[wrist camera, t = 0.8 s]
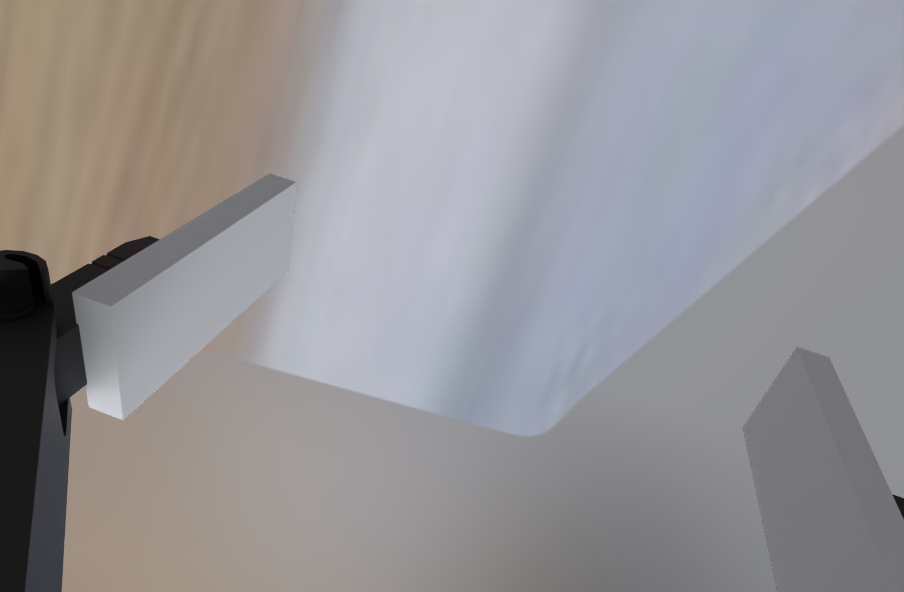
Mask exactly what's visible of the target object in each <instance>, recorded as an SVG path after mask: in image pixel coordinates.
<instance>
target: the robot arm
mask: <svg viewBox="0 0 904 592" xmlns="http://www.w3.org/2000/svg"><path fill="white" fill-rule="evenodd" d="M295 191H296V182H294V181H291V180H288V179H285V178H282V177H279V176H276V175H273V174H268V175H267V176H265V177H263V178H262V179H260V180H258V181H257V182H255V183H253V184H252V185H250V186H248V187H247V188H245V189H243V190H242V191H240V192H238V193H237V194H235V195H233V196H232V197H230V198H228V199H227V200H225V201H223V202H222V203H220V204H218V205H217V206H215V207H213V208H212V209H210V210H208V211H207V212H205V213H203V214H202V215H200V216H198V217H197V218H195V219H193V220H192V221H190V222H188V223H187V224H185V225H183V226H182V227H180V228H178V229H177V230H175V231H173V232H172V233H170V234H168V235H167V236H165V237H163V238H162V239H160V240H159V239H157V238H154V237H151V236H149V237H145V238H141V239H137V240H133V241H130V242H126V243H124V244H122V245H120V246H119V247H117V248H115V249H113V250H112V251H110V252H108V253H107V255H106V256H105V255H103V256H101V257H99V258H97V259H96V260H94V261H92V264H87V265H85V266H83V267H82V268H80V269H78V270H76V271H75V272H73V273H71V274H69V275H67V276H66V277H64V278H62V279H60V280H59V281H57V282H55V283H53V284H52V285H51V283H50V278H49V272H48V267H47V264H46V261H45V260H44V259H42V258H41V257H39V256H38V255H35V254H32V253H28V252H25V251H12V250H3V251H0V592H61V591H62V590H61V589H62V573H63V555H64V537H65V520H66V503H67V485H68V468H69V449H70V433H71V415H72V408H71V402H70V397H71V396H72V395H73V394H75V393H76V392H77V391H79V390H80V389H81V388H82V387H84V386H85V385H86V391H87V398H88V404H89V407H90V408H93V409H95V410H98V411H100V412H103V413H105V414H108V415H110V416H113V417H116V418H118V419H121V420H124V419H125V418H126V417H127V416H129V414H131V413H132V412H133V411H134V410H135V409H136V408H137V407H138V406H139V405H141V404H142V403H143V402H144V401H145V400H146V399H147V398H148V397H149V396H151V395H152V394H153V393H154V392H155V391H156V390H157V389H158V388H159V387H160V386H162V385H163V384H164V383H165V382H166V381H167V380H168V379H169V378H170V377H172V376H173V375H174V374H175V373H176V372H177V371H178V370H179V369H180V368H181V367H183V366H184V365H185V364H186V363H187V362H188V361H189V360H190V359H191V358H192V357H194V356H195V355H196V354H197V353H198V352H199V351H200V350H201V349H202V348H204V347H205V346H206V345H207V344H208V343H209V342H210V341H211V340H212V339H213V338H215V337H216V336H217V335H218V334H219V333H220V332H221V331H222V330H223V329H224V328H226V327H227V326H228V325H229V324H230V323H231V322H232V321H233V320H234V319H236V318H237V317H238V316H239V315H240V314H241V313H242V312H243V311H244V310H245V309H247V308H248V307H249V306H250V305H251V304H252V303H253V302H254V301H255V300H256V299H258V298H259V297H260V296H261V295H262V294H263V293H264V292H265V291H266V290H268V289H269V288H270V287H271V286H272V285H273V284H274V283H275V282H276V281H277V280H279V279H280V278H281V277H282V276H283V275H284V274H285V273H286V272H287V271H288V270H289V263H290V251H291V239H292V227H293V215H294V203H295ZM743 432H744V437H745V442H746V447H747V451H748V456H749V461H750V466H751V471H752V475H753V480H754V484H755V489H756V494H757V499H758V503H759V509H760V513H761V518H762V523H763V527H764V533H765V537H766V542H767V547H768V552H769V556H770V561H771V566H772V571H773V575H774V580H775V585H776V590H777V592H904V498H901V497H898V496H895V495H893V494H892V493H891V491H890V489H889V486H888V484H887V482H886V480H885V478H884V476H883V473H882V471H881V469H880V467H879V465H878V462H877V460H876V458H875V456H874V454H873V452H872V449H871V447H870V445H869V443H868V441H867V438H866V436H865V434H864V432H863V430H862V428H861V426H860V423H859V421H858V419H857V417H856V415H855V412H854V410H853V408H852V406H851V404H850V402H849V399H848V397H847V395H846V393H845V391H844V388H843V386H842V384H841V382H840V380H839V378H838V375H837V373H836V371H835V369H834V367H833V364H832V363H831V360H830V358H829V357H826V356H823V355H820V354H817V353H814V352H811V351H808V350H805V349H802V348H799V347H797V348H796V349H795V351H794V352H793V353H792V355H791V356H790V358H789V359H788V361H787V362H786V364H785V365H784V367H783V368H782V370H781V371H780V373H779V374H778V376H777V377H776V379H775V380H774V382H773V383H772V385H771V386H770V388H769V389H768V391H767V392H766V393H765V395H764V396H763V398H762V399H761V401H760V402H759V404H758V405H757V407H756V408H755V410H754V411H753V413H752V414H751V416H750V417H749V419H748V420H747V422H746V423H745V425H744V426H743Z"/></svg>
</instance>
